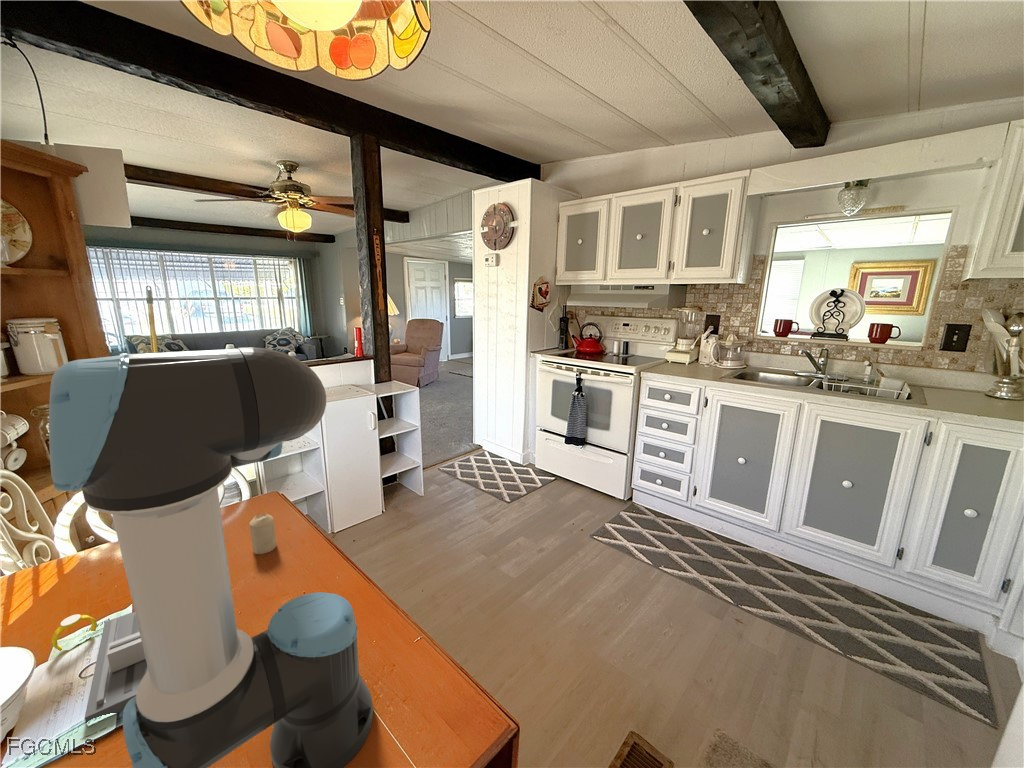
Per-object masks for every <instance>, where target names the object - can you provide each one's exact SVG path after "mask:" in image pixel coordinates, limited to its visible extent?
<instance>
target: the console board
mask: <svg viewBox="0 0 1024 768" xmlns="http://www.w3.org/2000/svg"><path fill="white" fill-rule="evenodd" d="M138 632H139V628H138V624H137V619H136V615H135V611H134V610H133V611H132V612H129V613H126V614H124V615H123V614H122V615H120V616H118V617H116V618H115V617H114V618H112V619H109V620H107V621H104V624H103V629H102V633H101V637H100V644H99V647H98V653H97V657H96V662H95V667H94V671H93V676H92V681H91V685H90V691H89V695H88V699H87V700H88V701H87V704H86V709H85V714H84V721H85V724H86V723H87V722H88V721H89V720H91V719H93V718H96V717H99V716H102V715H106V714H110V713H117V714H119V713H123V711H124V708H125V706H126V704H127V703H128V701H129V700H131V699H132V698H133V697H135V696H136V695H137V690H138V687H139V685H140V682H141V680H142V679H143V677H144V675H145V674H146V672H147V671H148V667H147V662H146V659H144V660H142V661H139V662H137V663H135V664H132V665H130V666H127V667H125V668H122V669H120V670H118V671H115V672H113V673H111V669H110V665H109V661H108V657H107V653H108V647H109V643H111V642H114V641H117V640H119V639H122V638H125V637H127V636H130V635H132V634H135V633H138ZM118 712H119V713H118Z"/></svg>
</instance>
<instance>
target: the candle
mask: <svg viewBox="0 0 1024 768" xmlns="http://www.w3.org/2000/svg"><path fill="white" fill-rule="evenodd" d="M274 521H275V520H274V517H273V516H272V515H270V514H268V513H267V512H265V513H262V514H255V516H254V517H253V519H251V521H250V522H249V531H250V537H251V538H250V540H251V546H252V552H253V554H256V555H264V554H267V553H270V552H272V551H274V549H276V547H277V538H276V530H275V522H274Z"/></svg>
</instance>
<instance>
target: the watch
mask: <svg viewBox="0 0 1024 768" xmlns="http://www.w3.org/2000/svg"><path fill="white" fill-rule="evenodd" d="M82 620H83V621H84V620H89V621H90V622H91V625H90V628H89V631H90V630H91V631H95V632H96V630H97V627H98V623H97V620H96V618H94V617H92V616H90V615H88V614H79V613H77V614H72V615H70V616H68V617H66V618H64V619H63V620H62V621H61V622H60V626H58V628H57V629H56V630H55V631H54V633H53V634H52V637H51V640H50V641H51V646H52V647H53V648H55V649H56V650H58V651H59V652H62V651H61V650H62V647H63V646H59V645H58V639H59V637H60V635H61V633H62V632H64V631H65V630H66V629H68V628H72V627H73V626H77V624H79V623H80V622H82Z"/></svg>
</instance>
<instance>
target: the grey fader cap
mask: <svg viewBox="0 0 1024 768" xmlns="http://www.w3.org/2000/svg"><path fill="white" fill-rule="evenodd" d="M107 657H108V661H109V665H110V669H111V673H113V672H115V671H118V670H120V669H122V668H125V667H127V666H130V665H132V664H135V663H137V662H139V661H142V660H144V659H146V658H145V654H144V649H143V645H142V641H141V636H140V632H138V633H135V634H132V635H130V636H127V637H125V638H122V639H119V640H117V641H114V642H111V643H109V647H108V653H107Z"/></svg>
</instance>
